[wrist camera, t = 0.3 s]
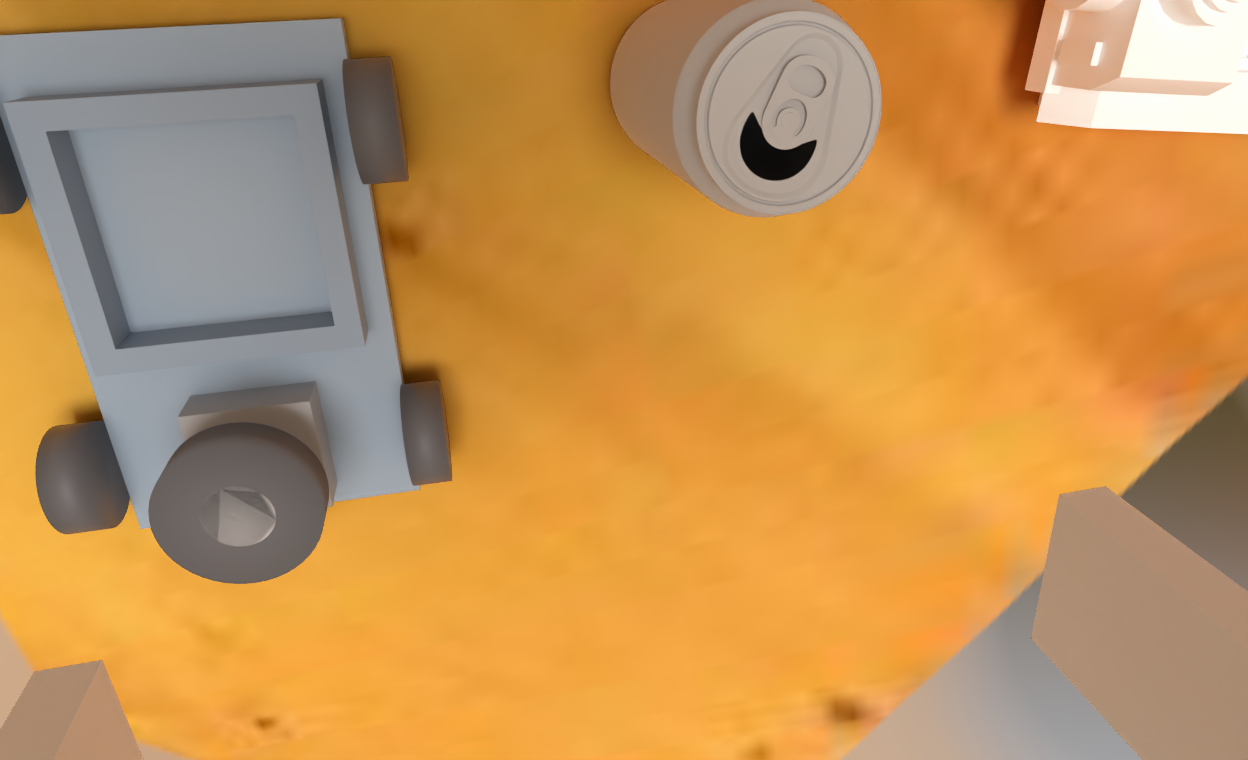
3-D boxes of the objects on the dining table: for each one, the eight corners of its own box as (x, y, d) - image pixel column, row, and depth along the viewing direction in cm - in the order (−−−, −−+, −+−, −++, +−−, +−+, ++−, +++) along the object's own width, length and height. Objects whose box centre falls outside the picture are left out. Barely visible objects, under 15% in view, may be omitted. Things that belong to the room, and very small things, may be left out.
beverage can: (583, 127, 35) (649, 186, 24) (642, -33, 33) (742, -46, 22) (717, 180, 37) (833, 257, 26) (781, 33, 35) (934, 51, 24)
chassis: (-64, 38, 29) (-141, 44, 25) (387, 15, 32) (380, 18, 28) (109, 521, 38) (71, 582, 34) (454, 473, 40) (456, 525, 36)
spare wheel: (158, 409, 33) (127, 457, 30) (319, 390, 34) (306, 434, 30) (198, 537, 35) (173, 595, 32) (346, 516, 36) (337, 570, 33)
